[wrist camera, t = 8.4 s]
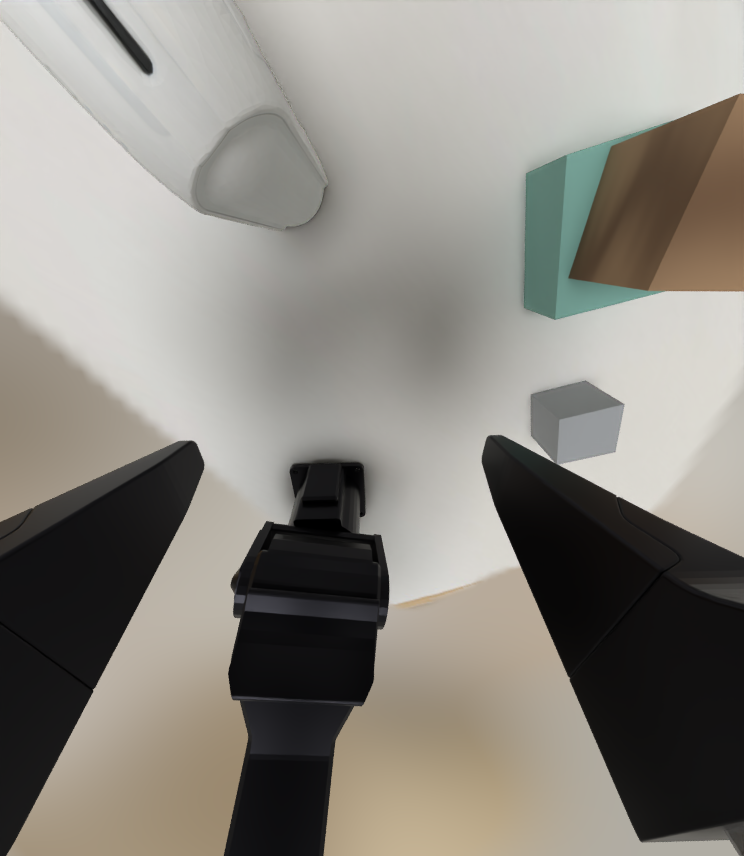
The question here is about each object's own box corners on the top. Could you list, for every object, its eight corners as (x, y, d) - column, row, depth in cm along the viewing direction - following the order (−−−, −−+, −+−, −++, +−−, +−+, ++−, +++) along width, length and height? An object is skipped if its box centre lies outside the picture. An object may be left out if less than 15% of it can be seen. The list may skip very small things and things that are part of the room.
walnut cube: (663, 278, 15) (779, 291, 11) (568, 278, 15) (647, 290, 11) (726, 147, 12) (913, 96, 8) (611, 146, 12) (740, 93, 8)
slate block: (580, 423, 24) (615, 452, 21) (530, 435, 25) (556, 464, 21) (584, 380, 22) (624, 404, 19) (530, 393, 23) (559, 419, 19)
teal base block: (634, 277, 19) (694, 283, 15) (522, 307, 19) (554, 319, 16) (663, 129, 15) (750, 95, 12) (523, 174, 16) (567, 154, 12)
